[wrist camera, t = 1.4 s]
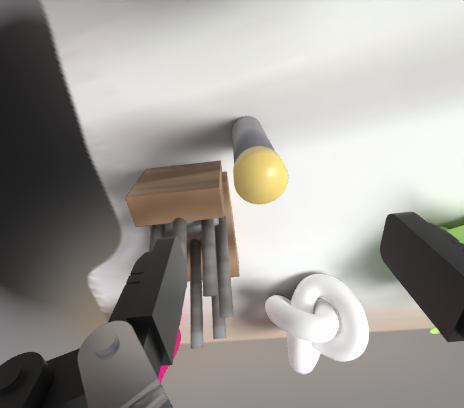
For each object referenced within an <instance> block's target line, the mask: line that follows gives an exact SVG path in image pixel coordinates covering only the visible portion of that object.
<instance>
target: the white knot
mask: <svg viewBox="0 0 464 408" xmlns="http://www.w3.org/2000/svg"><path fill="white" fill-rule="evenodd" d="M319 297H324V298H326V299H322V298H321V299H318V298H319ZM317 299H318V300H317ZM336 310H337V312H338V314H339V316H340V319H341V324H342V330H341V333H340V334H337V333H336V332H337V330H338V326H339V319H338V315H337V312H336ZM265 311H266V313H267V315H268V317H269V318H270V320H271V321H272V322H273V323H275V324H276V325H277V326H278V327H280V328H281V329H283V330H284V331H286V332H287V333H288V357H289V361H290V364H291V366H292V367H293V369H294V370H295V371H296V372H298V373H302V374H306V373H309V372H311V371H312V369H313V368H314V366H315V365H316V363H317V361H318V358H319V356H320V353H322V354H323V355H325V356H327V357H330V358H332V359H334V360H337V361H350V360H353V359H356V358H357V357H359V356H360V355H361V354H362V353H363V352H364V350H365V349H366V346H367V343H368V338H369V328H368V321H367V318H366V315H365V312H364V310H363V308H362V306H361V304H360V302H359V300H358V299H357V297H356V296H355V295H354V293H353V292H352V291H351V290H350V289H349V288H348V287H347V286H346V285H345V284H344V283H342V282H341V281H340V280H338V279H336V278H334V277H332V276H329V275H326V274H313V275H310V276H308V277H306V278H304V279H303V280H302V281H301V282H300V283H299V284H298V286H297V288H296V290H295V292H294V294H293V297H292V300H289V299H287V298H285V297H283V296H279V295H273V296H271V297H269V298H268V299H267V301H266V303H265Z"/></svg>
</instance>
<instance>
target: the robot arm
mask: <svg viewBox="0 0 464 408" xmlns="http://www.w3.org/2000/svg"><path fill="white" fill-rule="evenodd" d="M380 252H381V256H382V259H383V261H384V263H385V264H386V265H387V266H388V268H389V269H390V270H391V272H392V273H393V274H394V275H395V277H396V278H397V279H398V280H399V282H400V283H401V284H402V285H403V287H404V288H405V289H406V290H407V292H408V293H409V294H410V295H411V297H412V298H413V299H414V300H415V302H416V303H417V304H418V305H419V307H420V308H421V309H422V310H423V312H424V313H425V314H426V315H427V317H428V318H429V319H430V320H431V322H432V323H433V324H434V325H435V327H436V328H437V329H438V330H439V332H440V333H441V334H442V335H443V337H444V338H445V339H446V340H447V342H455V341H464V244H463V243H460V242H459V240H458V239H457V238H455V237H454V236H453V235H451V234H450V233H449V232H447V231H446V230H443V229H441V228H439V227H437V226H435V225H432V224H430V223H427V222H426V221H425V220H423V219H422V218H421V217H420V216H418V215H417V214H416V213H414V212H404V213H395V214H389V215H388V216H387V218H386V222H385V226H384V231H383V236H382V241H381V246H380ZM130 274H131V276H129V278H128V280H127V282H126V285H125V287H124V289H123V291H122V293H121V295H120V297H119V300H118V302H117V304H116V306H115V308H114V311H113V313H112V315H111V317H110V319H109V321H108V323H107V324H104V325H102V326H101V327H99V328H97V329H96V330H95V331H93V332H92V333H91V334H90V335H89V336H88V337H87V338H86V340H85V341H84V342H83V344H82V345H81V347H80V348H79V349H77V350H75V351H72V352H69V353H67V354H64V355H62V356H59V357H56V358H54V359H51V360H49V361H45V360H44V359H43V357H42V356H41V355H40V354H38V353H35V352H27V353H23V354H20V355H17V356H15V357H13V358H11V359H10V360H8V361H6V362H5V363H3V364H2V365H1V366H0V408H173V406H172V404H171V403H170V400H169V398H168V396H167V394H166V393H165V391H164V389H163V387H162V385H161V383H160V381H159V379H158V377H159V372H160V368H161V366H166V365H172V363H173V357H174V352H175V346H176V341H177V335H178V330H179V324H180V318H181V313H182V307H183V302H184V296H185V291H186V285H187V266H186V263H185V259H184V255H183V251H182V248H181V244H180V240H179V238H178V237H177V236H175V237H166V238H158V239H157V240H156V243H155V245H154V248H153V250H152V252H147V253H144V254H143V255H142V256H141V257H140V258H139V259H138V260H137V262H136V263H135V265H134V267H133V269H132V271H131V273H130Z"/></svg>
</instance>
